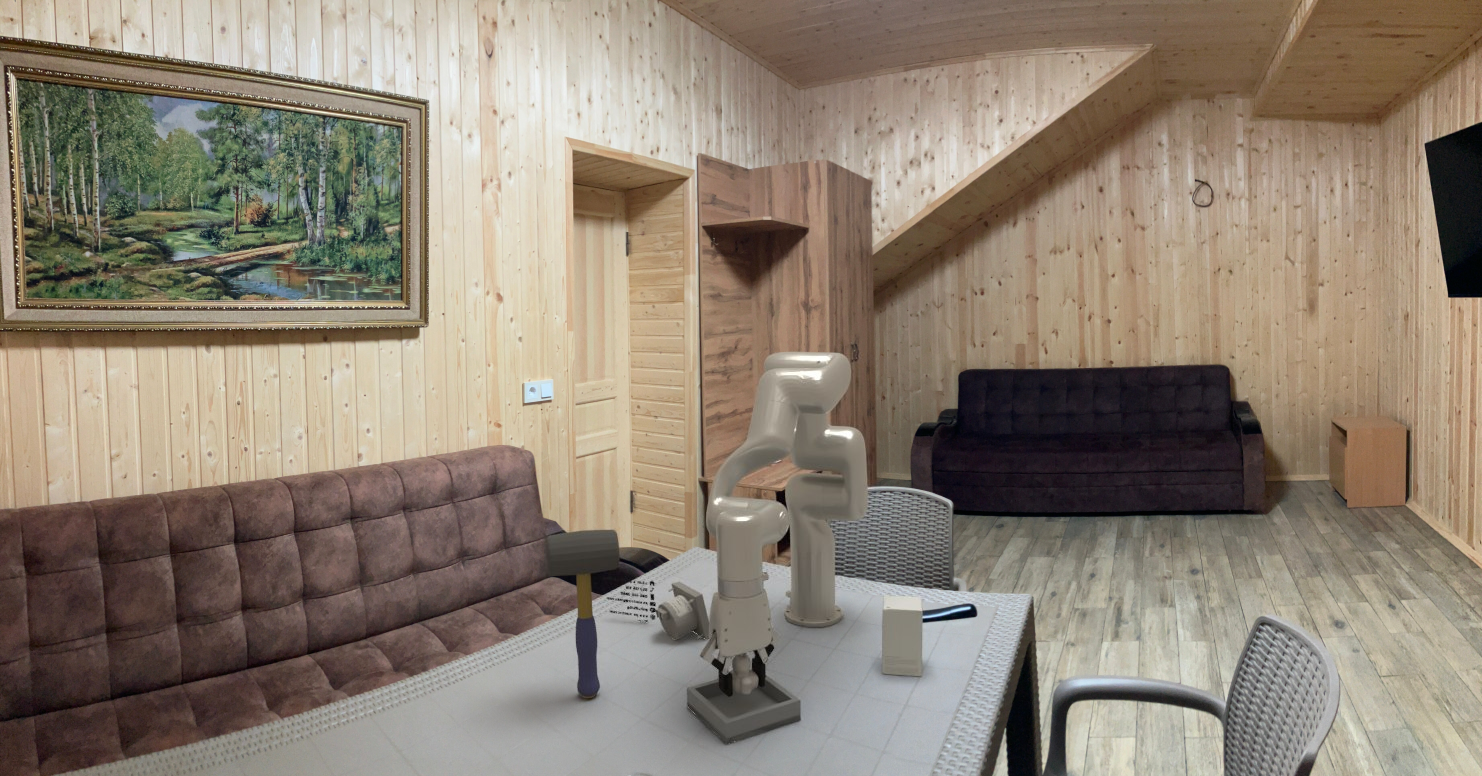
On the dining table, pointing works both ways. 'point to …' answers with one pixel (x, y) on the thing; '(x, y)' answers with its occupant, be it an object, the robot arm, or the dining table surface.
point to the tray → (743, 709)
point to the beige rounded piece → (743, 675)
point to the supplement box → (902, 635)
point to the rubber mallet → (584, 589)
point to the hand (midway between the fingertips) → (742, 687)
